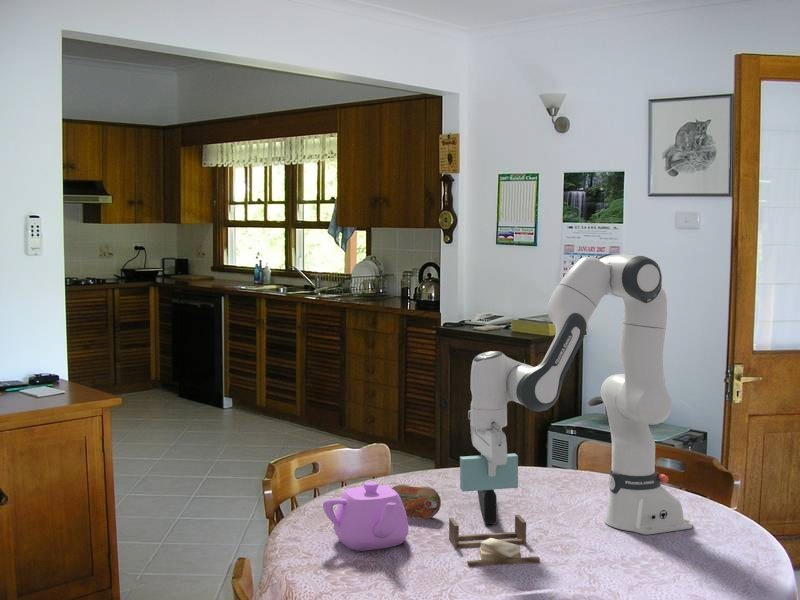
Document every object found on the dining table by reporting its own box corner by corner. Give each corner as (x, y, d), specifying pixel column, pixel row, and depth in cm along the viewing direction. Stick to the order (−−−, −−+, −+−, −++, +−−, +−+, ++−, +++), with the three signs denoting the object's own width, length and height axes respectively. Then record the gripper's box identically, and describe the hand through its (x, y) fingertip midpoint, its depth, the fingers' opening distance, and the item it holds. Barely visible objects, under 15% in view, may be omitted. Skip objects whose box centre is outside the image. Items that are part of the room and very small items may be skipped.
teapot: (312, 538, 222) (312, 479, 221) (390, 527, 231) (390, 470, 229) (343, 570, 201) (343, 506, 200) (427, 557, 210) (427, 495, 209)
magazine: (498, 497, 227) (489, 437, 255) (485, 497, 227) (478, 437, 255) (495, 552, 234) (487, 488, 262) (483, 552, 234) (476, 488, 262)
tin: (386, 514, 241) (386, 484, 241) (390, 510, 244) (390, 481, 244) (438, 521, 236) (438, 490, 235) (442, 517, 239) (442, 487, 238)
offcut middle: (518, 553, 211) (518, 547, 211) (520, 560, 206) (520, 554, 206) (479, 553, 211) (479, 547, 211) (481, 560, 206) (481, 554, 206)
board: (515, 484, 220) (514, 453, 219) (518, 487, 218) (517, 456, 217) (460, 488, 218) (460, 456, 217) (462, 491, 215) (462, 459, 215)
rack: (518, 537, 223) (518, 514, 223) (541, 564, 206) (542, 539, 205) (449, 541, 220) (449, 518, 220) (466, 568, 203) (466, 543, 202)
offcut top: (520, 552, 208) (520, 545, 207) (510, 556, 204) (510, 550, 204) (490, 543, 213) (490, 537, 213) (480, 548, 210) (480, 542, 210)
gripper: (513, 427, 207) (513, 484, 208) (490, 409, 227) (490, 462, 228) (487, 428, 206) (487, 486, 207) (466, 410, 226) (466, 463, 227)
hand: (489, 473), depth 217 cm, fingers closed on board, 2 cm apart
